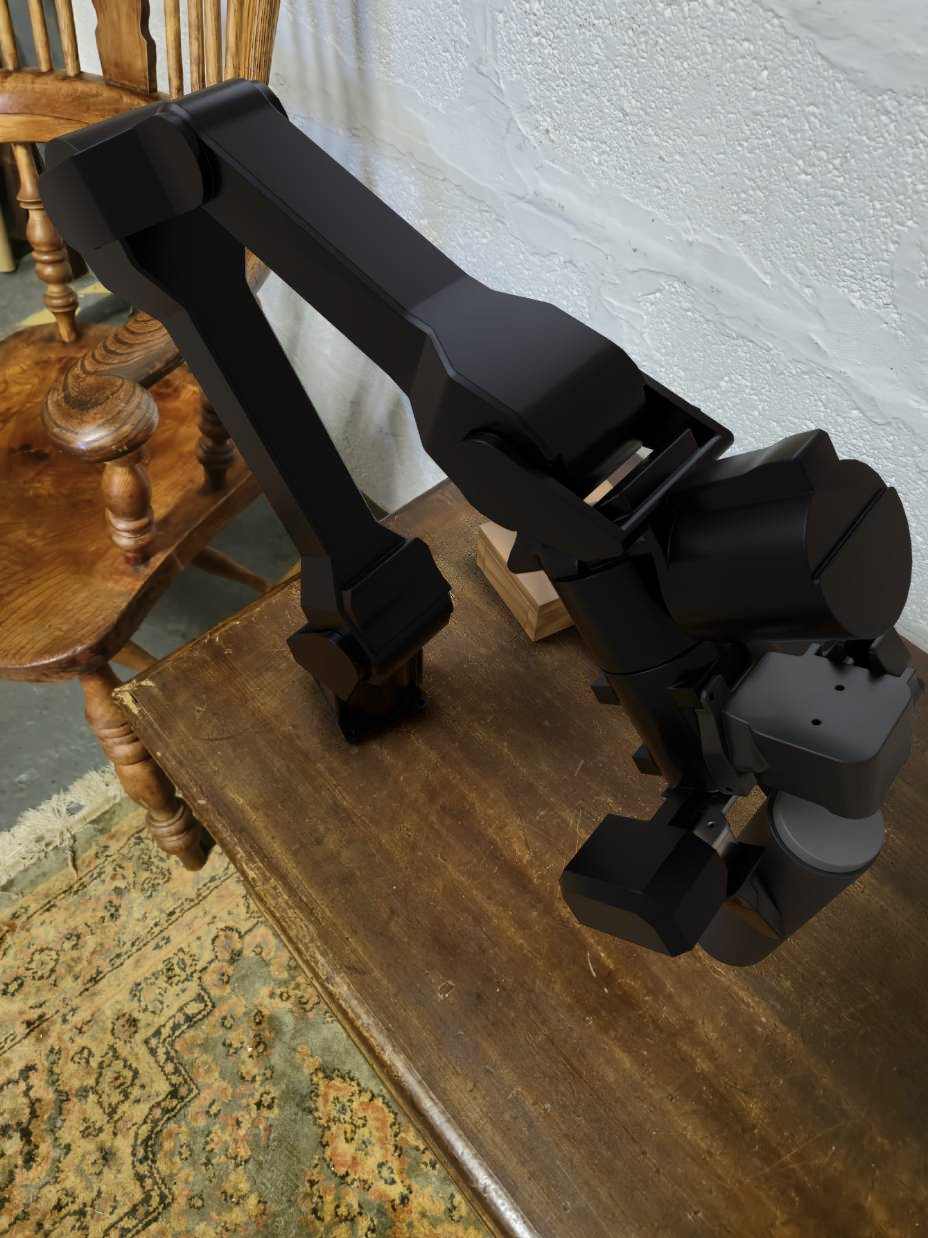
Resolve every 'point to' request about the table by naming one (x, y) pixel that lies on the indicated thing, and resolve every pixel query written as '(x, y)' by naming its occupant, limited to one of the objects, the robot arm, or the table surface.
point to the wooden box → (524, 580)
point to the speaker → (795, 870)
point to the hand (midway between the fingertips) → (800, 894)
